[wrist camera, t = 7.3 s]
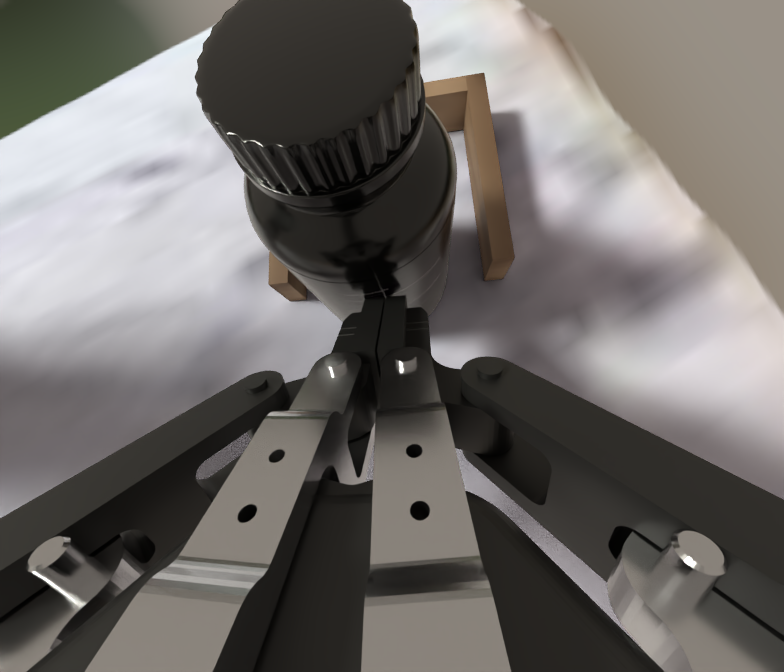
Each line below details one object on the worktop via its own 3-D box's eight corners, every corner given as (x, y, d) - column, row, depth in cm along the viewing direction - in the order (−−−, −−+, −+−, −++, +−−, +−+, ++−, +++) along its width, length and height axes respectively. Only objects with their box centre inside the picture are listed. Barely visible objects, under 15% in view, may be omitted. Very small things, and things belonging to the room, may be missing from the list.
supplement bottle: (308, 260, 19) (114, 20, 7) (410, 207, 19) (376, -117, 7) (357, 362, 17) (200, 253, 6) (470, 302, 17) (548, 70, 6)
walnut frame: (289, 301, 19) (268, 284, 16) (291, 142, 21) (273, 108, 19) (503, 278, 17) (514, 257, 15) (477, 113, 20) (484, 72, 18)
